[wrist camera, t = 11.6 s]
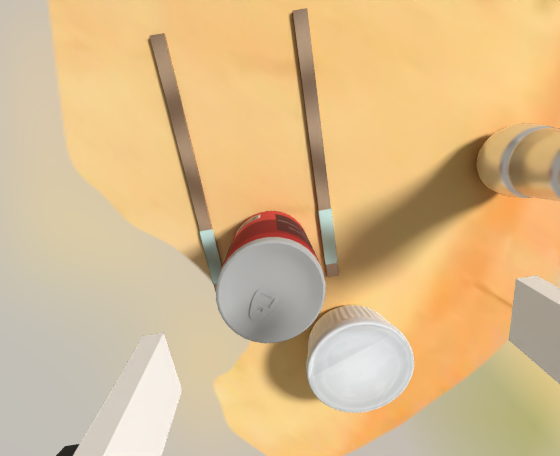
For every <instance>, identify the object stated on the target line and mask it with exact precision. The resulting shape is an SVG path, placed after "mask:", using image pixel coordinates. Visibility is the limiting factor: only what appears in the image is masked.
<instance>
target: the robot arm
mask: <svg viewBox="0 0 560 456" xmlns="http://www.w3.org/2000/svg"><path fill="white" fill-rule="evenodd" d="M509 341H510V342H512V343H513V344H514V345H515V346H516V347H517V348H519V349H520V350H521V351H522V352H523V353H524V354H525V355H527V356H528V357H529V358H530V359H531V360H532V361H534V362H535V363H536V364H537V365H538V366H539V367H541V368H542V369H543V370H544V371H545V372H546V373H547V374H549V375H550V376H551V377H552V378H553V379H554V380H555V381H557V382H558V383H559V384H560V288H559V287H557V286H555V285H553V284H551V283H549V282H548V281H546V280H544V279H542V278H540V277H538V276H531V277H524V278H517V279H516V284H515V292H514V301H513V309H512V317H511V326H510V334H509ZM181 392H182V389H181V385H180V382H179V379H178V376H177V373H176V370H175V367H174V363H173V360H172V357H171V354H170V351H169V348H168V345H167V341H166V338H165V335H164V333H157V334H151V335H144V336H143V337H142V338H141V340H140V342H139V343H138V345H137V347H136V349H135V350H134V352H133V354H132V355H131V357H130V359H129V361H128V362H127V364H126V366H125V368H124V369H123V371H122V373H121V374H120V376H119V378H118V380H117V381H116V383H115V385H114V386H113V388H112V390H111V391H110V393H109V395H108V397H107V398H106V400H105V402H104V403H103V405H102V407H101V409H100V410H99V412H98V414H97V415H96V417H95V419H94V421H93V422H92V424H91V426H90V427H89V429H88V431H87V432H86V434H85V436H84V438H83V439H82V441H81V443H80V444H77V445H71V446H65V447H64V448H63V449H62V450H61V451H60V452H59V453H58V454H57V455H56V456H162V452H163V449H164V446H165V443H166V440H167V436H168V433H169V430H170V426H171V424H172V420H173V417H174V414H175V411H176V408H177V404H178V401H179V398H180V395H181Z"/></svg>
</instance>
